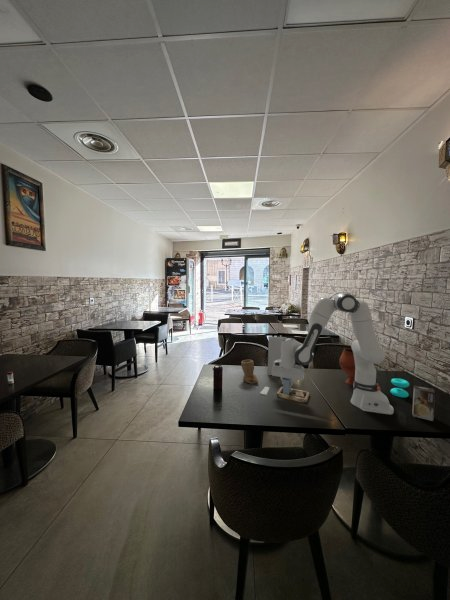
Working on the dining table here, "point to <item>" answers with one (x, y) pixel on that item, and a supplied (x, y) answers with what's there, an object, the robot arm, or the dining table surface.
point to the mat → (264, 391)
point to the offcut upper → (299, 394)
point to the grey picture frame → (423, 403)
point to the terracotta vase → (348, 364)
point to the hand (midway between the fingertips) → (287, 384)
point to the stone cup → (249, 371)
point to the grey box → (274, 351)
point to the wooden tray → (293, 396)
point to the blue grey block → (286, 386)
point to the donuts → (398, 391)
